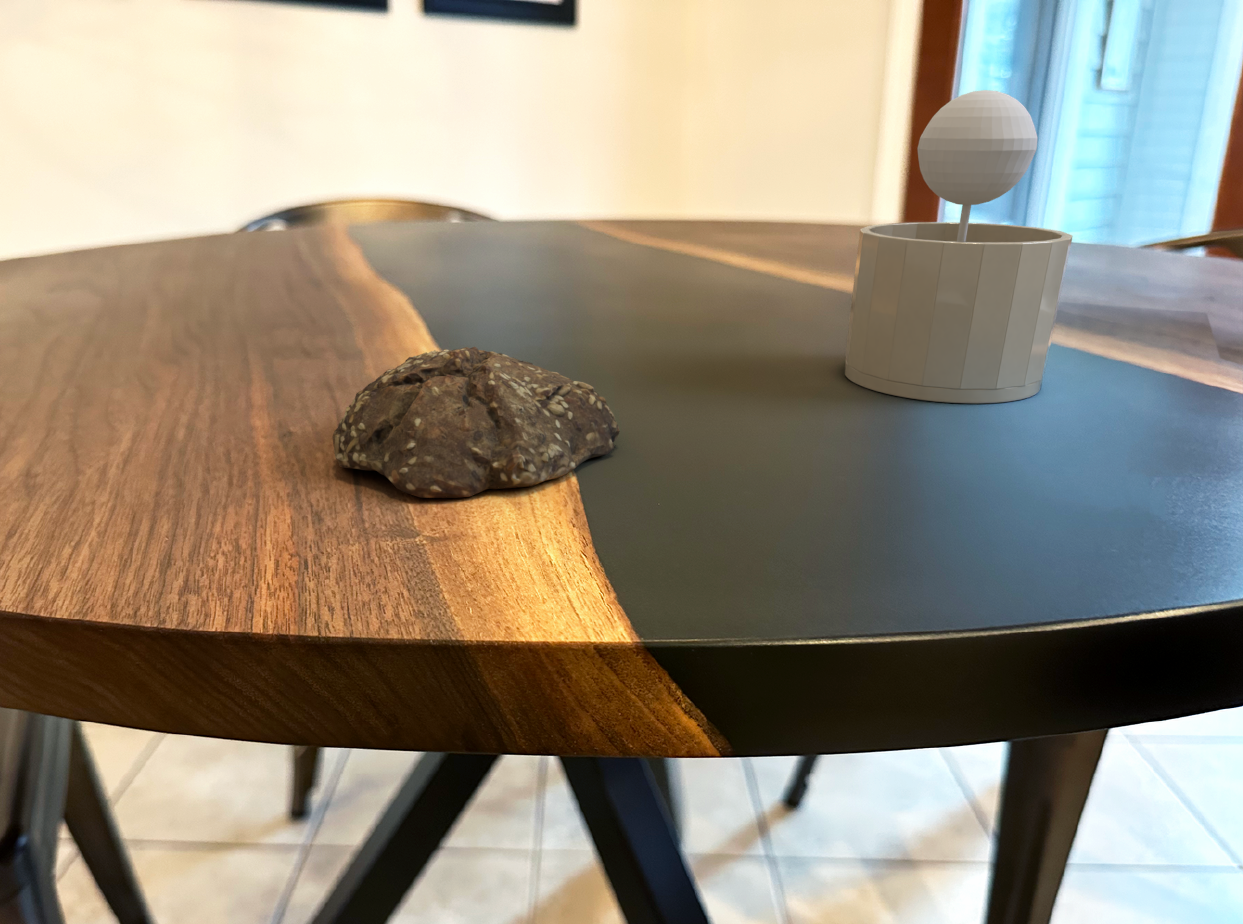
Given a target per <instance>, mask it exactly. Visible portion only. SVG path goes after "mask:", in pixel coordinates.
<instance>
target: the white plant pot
mask: <svg viewBox="0 0 1243 924" xmlns="http://www.w3.org/2000/svg"><path fill="white" fill-rule="evenodd" d="M959 224H960V221H959V222H958V221H915V222H914V221H911V222H908V221H907V222H890V223H880V224H873V225H872V224H871V225H868V226H864V227H862V228H860V229H859V235H858V242H857V243H858V245H857V253H856V261H855V269H854V278H853V285H852V286H853V287H852V293H851V303H850V313H849V319H848V329H847V335H846V337H847V338H846V345H845V353H844V354H845V355H844V358H845V364H844V365H845V366H844V375H845V377H846V378H847V379H848V380H849V381H851V382H852V383H853V384H856V385H858V386H860V387H863V388H864V389H865V388H866V389H868V390H872V391H875V392H878V393H882V394H886V395H889V396H890V395H891V396H896V397H900V398H906V399H912V400H918V401H928V402H936V403H951V404H996V403H997V404H998V403H999V404H1000V403H1008V402H1014V401H1020V400H1024V399H1027V398H1032V397H1033V396H1035V395H1037V394H1038V393H1040V390H1041V389H1042V385H1043V379H1044V375H1045V373H1046V368H1047V363H1048V359H1049V354H1050V349H1051V346H1052V345H1051V344H1052V339H1053V334H1054V329H1055V326H1056V325H1055V324H1056V320H1057V314H1058V311H1059V304H1060V300H1061V297H1062V291H1063V287H1064V281H1065V276H1066V271H1067V266H1068V261H1069V257H1070V251H1071V247H1072V241H1073V237H1074V236H1073V235H1072V234H1070V233H1067V232H1064V231H1062V230H1056V229H1051V228H1046V227H1045V228H1044V227H1036V226H1028V225H1027V226H1026V225H1016V224H1003V223H985V222H968V229H967V235H966V241H965V242H957V237H958V230H959Z"/></svg>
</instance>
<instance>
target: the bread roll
mask: <svg viewBox="0 0 1243 924" xmlns="http://www.w3.org/2000/svg"><path fill="white" fill-rule="evenodd" d="M620 431H621V430H620V427H619V425H618V422H617V420H616V416H615V415H614V413H613V411H612V409H611V407H610V406H609V405H608V403H607V399H606V398H605V397H604V396H600V394H599V393H598V392H597V391H595V387H594V386H592V385H590V384H589V383H586V382H583V381H579V380H573V379H571V378H569V377H567V376H564V375H561V374H560V373H559V372H557V371H551V370H550V371H549V370H547V369H545V368H543V367H541V366H538V365H535V364H533V363H532V362H529V361H526V360H520V359H518V358H515V357H512V356H511V357H510V356H509V355H507V354H506V353H505V354H504V353H502V352H498V353H497V352H495V351H487V350H484V349H478V347H476V346H472V347H468V346H466V347H462V348H456V349H447V348H444V349H443V350H441V351H440V350H436V349H434V350H431V351H429V352H424V353H421V354H418V355H413V356H409V357H408V358H407V359H405V361H404V362H403V363H401V364H400V365H397V366H396V367H395V368H391V369H390V368H389V369H387V370H386V371H384V372H383V373H382V374H381V375H379V376H378V377H377V378H376V379H375V380H374V381H371V383H368V384H367V385H366V386H365V387H364V388H363V389H360V390H359V391H358V392H356V394H355V397H354V398H353V400H352V402H351V404H349V405H348V406H346V408H345V412H344V415H343V417H342V418H341V419H340V421H339V423H338V424H337V428H336V429H334V431H333V433H332V444H333V452H334V457H335V459H336V461H337V463H338V466H339V467H341V468H343V469H352V470H353V469H354V470H361V471H376V472H377V473H378V474H380V475H382V476H384V477H385V478H387V479H388V480H389V481H390V482H391V484H392V485H393V486H394V487H395V488H396V489H397V490H399V491H401V492H403V493H405V494H408V495H411V496H415V497H417V498H426V499H427V498H429V499H432V498H433V499H435V498H436V499H440V498H441V499H444V498H445V499H447V498H449V499H452V498H453V499H456V498H457V499H458V498H468V497H472V496H474V495H477V494H479V493H482V492H483V491H486V490H490V489H491V490H499V489H501V490H502V489H512V488H513V489H515V488H526V487H527V488H528V487H533V486H536V485H538V484H540V483H543V482H545V481H550V480H554V479H560V478H561V477H563V476H565V475H567V474H568V473H570V472H573V471H574V470H575V469H576V468H578V467H579V466H580V465H581V464H582V463H584V462H585V461H587V460H589V459H592V458H597V457H603V456H605V455H608V454H609V453H611V451H613V450H614V449H615V448H616V446H615V444H614V443H615V442H616V440H617V439H618V437H619V434H620Z"/></svg>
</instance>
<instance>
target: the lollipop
mask: <svg viewBox="0 0 1243 924" xmlns="http://www.w3.org/2000/svg"><path fill="white" fill-rule="evenodd" d="M1038 139H1039V138H1038V134H1037V130H1036V127H1035V124H1034V121H1033V117H1032V116H1031V114H1030V112H1029V111H1028V109H1027V108H1026V107H1025V106H1024V105H1023V104H1022V103H1021V102H1020V101H1019V100H1018V99H1017V98H1015V97H1013V96H1011V95H1010V94H1007V93H1005V92H1002V91H998V90H990V89H989V90H988V89H983V90H973V91H970V92H967V93H964V94H961V95H959V96H957V97H955V98H953V99H951V100H950V101H948V102H947V103H945V105H943V106H942V107H941V108H940V109H939V110H938V111H937V112H936V113H935V114H934V115H933V116H932V117H931V119H930V120H929V122H928V123H927V125H926V127H925V128H924V129H923V132H922V133H921V135H920V137H919V140H918V145H917V157H918V158H917V159H918V165H919V171H920V173H921V176H922V179H923V181H924V182H925V184H926V185H927V186H928V188H929V190H930V191H932V192H933V193H934V194H935V195H936V196H937V197H939V198H941V199H942V200H944V201H946V202H949V203H951V204H955V205H960V206H961V205H962V206H961V212H960V217H959V222H960V224H959V230H958V237H957V242H965V241H966V235H967V229H968V223H970V222H969V221H970V217H971V216H970V215H971V209H972V206H976V205H982V204H985V203H989V202H992V201H993V200H996V199H998V198H1001V197H1002V196H1004V195H1005V194H1007V193H1008V192H1009V191H1010V190H1012V188H1014V187H1015V186H1016V185H1017V184H1018V183H1019V182H1020V180H1021V179H1022V178H1023V177H1024V175H1025V174H1026V172H1027V171H1028V169H1029V167H1030V165H1031V163H1032V161H1033V158H1034V156H1035V154H1036V152H1037V149H1038Z"/></svg>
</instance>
